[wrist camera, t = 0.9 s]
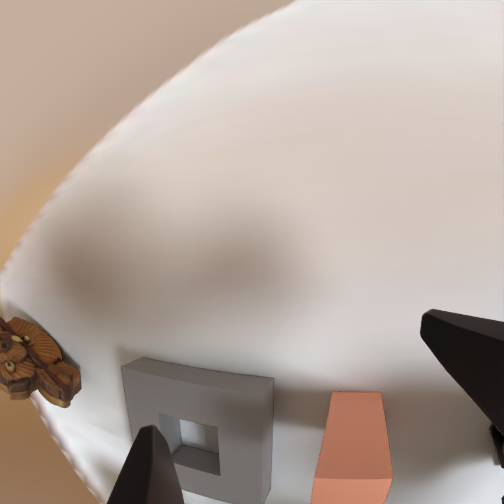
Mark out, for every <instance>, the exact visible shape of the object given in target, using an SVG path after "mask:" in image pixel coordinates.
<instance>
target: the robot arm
mask: <svg viewBox="0 0 504 504" xmlns="http://www.w3.org/2000/svg"><path fill="white" fill-rule="evenodd" d="M420 335H421V338H422V339H423V341H424V342H425V343H426V345H427V346H428V347H429V349H430V350H431V351H432V353H433V354H434V355H435V357H436V358H437V359H438V361H439V362H440V363H441V365H442V366H443V367H444V368H445V370H446V371H447V372H448V373H449V374H450V375H451V376H452V377H453V378H454V380H455V381H456V382H457V383H458V384H459V385H460V386H461V387H462V388H463V390H464V391H465V392H466V393H467V394H468V395H469V396H470V397H471V399H472V400H473V401H474V402H475V403H476V404H477V405H478V407H479V408H480V409H481V410H482V411H483V412H484V413H485V415H486V416H487V417H488V418H489V419H490V421H491V422H492V423H493V425H492V426H491V427H490V429H489V430H490V434H491V437H492V440H493V443H494V446H495V449H496V452H497V456H498V459H499V462H500V466H501V467H502V468H504V322H502V321H496V320H490V319H485V318H479V317H474V316H468V315H463V314H457V313H452V312H447V311H441V310H436V309H431V310H429V311H427V312H426V313H424V314H423V316H422V321H421V329H420ZM495 428H496V429H495ZM494 429H495V430H494ZM501 499H502V504H504V496H503V497H502V498H501ZM107 504H184V500H183V495H182V490H181V486H180V483H179V479H178V476H177V473H176V470H175V466H174V463H173V459H172V456H171V452H170V449H169V445H168V443H167V440H166V439H165V437H164V436H163V435H162V434H161V432H160V431H159V430H158V428H157V427H156V426H155V425H153V424H151V425H147V426H143V427H141V428H140V429H139V432H138V434H137V436H136V438H135V440H134V443H133V445H132V447H131V449H130V452H129V454H128V456H127V458H126V461H125V463H124V465H123V467H122V470H121V472H120V474H119V476H118V479H117V481H116V483H115V486H114V488H113V490H112V493H111V495H110V497H109V500H108V502H107Z"/></svg>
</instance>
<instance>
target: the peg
mask: <svg viewBox="0 0 504 504" xmlns="http://www.w3.org/2000/svg"><path fill="white" fill-rule="evenodd" d="M392 480H393V474H392V465H391V457H390V449H389V441H388V434H387V428H386V421H385V415H384V409H383V403H382V397H381V392H333V391H332V396H331V402H330V407H329V413H328V418H327V423H326V428H325V433H324V438H323V442H322V447H321V451H320V456H319V460H318V464H317V469H316V473H315V477H314V483H313V489H312V496H311V502H310V504H384V503H385V500H386V498H387V495H388V492H389V489H390V486H391V483H392Z"/></svg>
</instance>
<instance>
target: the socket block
mask: <svg viewBox="0 0 504 504" xmlns="http://www.w3.org/2000/svg"><path fill="white" fill-rule="evenodd" d="M121 370H122V378H123V385H124V392H125V398H126V404H127V410H128V416H129V421H130V427H131V432H132V437H133V441H134V440H135V438H136V436H137V434H138V432H139V429H140V428H141V427H143V426H147V425H151V424H153V425H155V426H156V427H157V428H158V430H159V431H160V432H161V434H162V435H163V436H164V437H165V439H166V440H167V443H168V445H169V449H170V452H171V456H172V459H173V463H174V466H175V470H176V473H177V476H178V479H179V483H180V486H181V489H182V490H185V491H188V492H192V493H195V494H198V495H202V496H205V497H209V498H212V499H216V500H220V501H224V502H228V503H232V504H264V502H265V500H266V498H267V496H268V494H269V492H270V489H271V468H272V439H273V402H274V378H268V377H258V376H249V375H241V374H233V373H226V372H219V371H212V370H206V369H199V368H194V367H188V366H182V365H177V364H172V363H166V362H161V361H157V360H152V359H147V358H143V357H142V358H140V359H138V360H135V361H133V362H131V363H128V364H126V365H124V366H121ZM179 418H180V419H183V420H187V421H191V422H196V423H200V424H204V425H209V426H213V427H217V431H218V446H219V454H216V453H212V452H208V451H204V450H200V449H196V448H192V447H189V446H185V445H182V440H181V432H180V424H179Z"/></svg>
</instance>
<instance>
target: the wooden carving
mask: <svg viewBox="0 0 504 504" xmlns="http://www.w3.org/2000/svg"><path fill="white" fill-rule="evenodd" d="M0 389H1V390H2V391H4V392H6V393H8V394H9V398H10V399H11V400H25V399H28V398H29V397H30V394H31V393H32V392H33V391H35V390H37V389H38V390H39V392H40V393H41V395H42V396H43V397H44V398H45V399H46V400H47V401H49V402H50V403H52V404H54V405H57V406H60V407H62V408H67V407H69V406H70V402H71V400H72V399H73V397H74V395H75V394H77V393H78V392H79V391H80V390H81V389H82V388H81V381H80V372H79V371H78V370H77V369H76V368H74V367H72V366H70V365H67V364H66V363H63V361H62V355H61V352H60V349H59V347H58V346H57V344H56V343H55V342H54V340H53V339H52V338H51V337H50V336H49V335H47V334H46V333H45V332H43V331H42V330H41V329H40V328H38V327H37V326H35V325H33V324H31V323H29V322H27V321H25V320H22V319H20V318H17V317H13V318H12V320H11V321H9V322H7V323H6V322H5V321H4V320H3V319H2V318H1V317H0Z"/></svg>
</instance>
